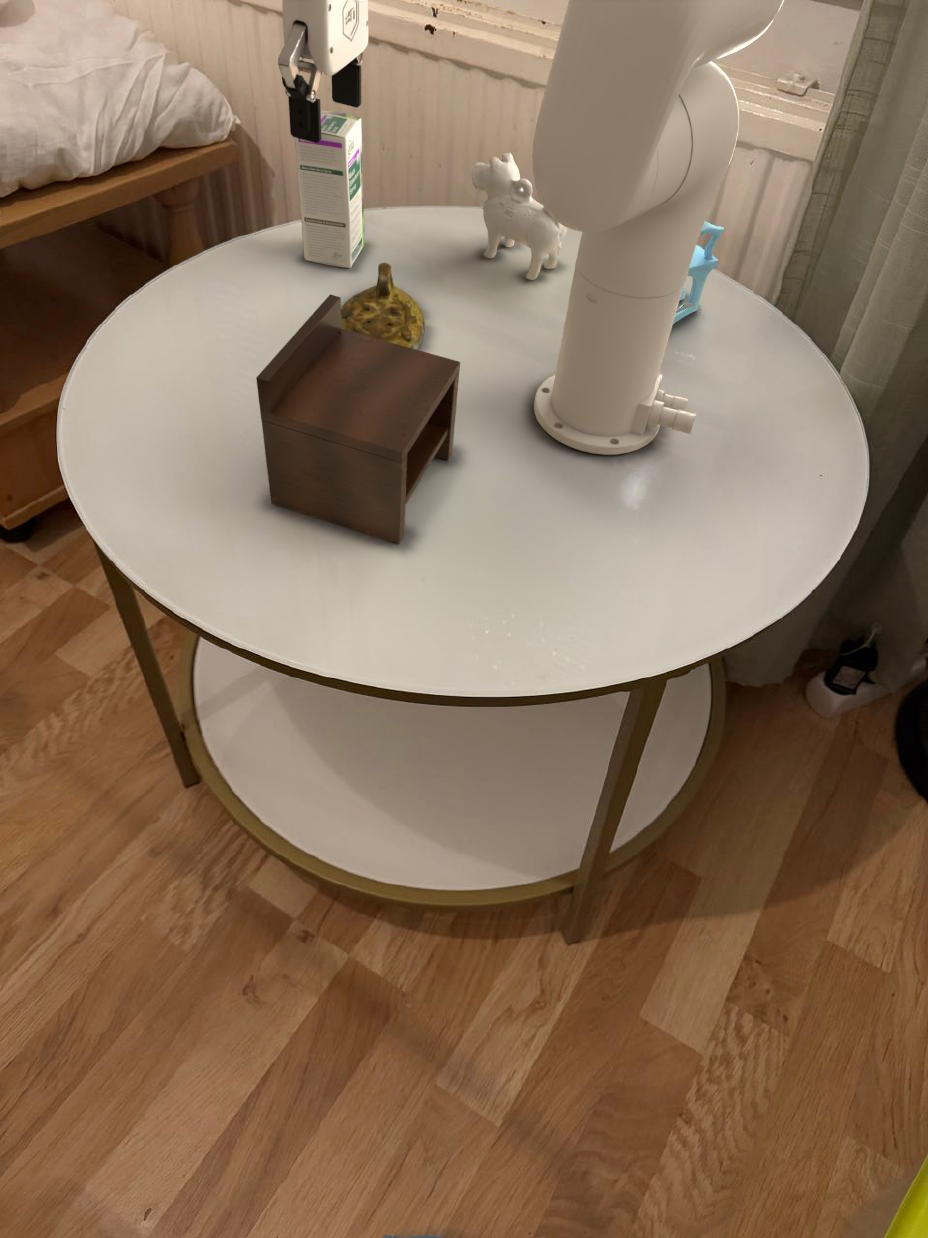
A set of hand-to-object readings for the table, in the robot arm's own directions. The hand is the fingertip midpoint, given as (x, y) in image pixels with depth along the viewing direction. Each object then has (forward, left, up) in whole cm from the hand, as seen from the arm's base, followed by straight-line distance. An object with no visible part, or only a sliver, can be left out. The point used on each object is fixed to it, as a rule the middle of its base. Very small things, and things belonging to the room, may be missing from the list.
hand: (327, 120), depth 94 cm
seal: (-11, +12, -15) cm, 22 cm away
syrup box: (0, 0, -15) cm, 15 cm away
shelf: (-19, +34, -15) cm, 42 cm away
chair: (-38, -6, -15) cm, 42 cm away
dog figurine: (-19, -9, -15) cm, 26 cm away
